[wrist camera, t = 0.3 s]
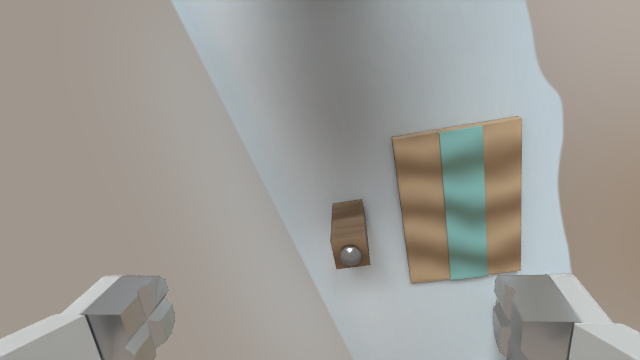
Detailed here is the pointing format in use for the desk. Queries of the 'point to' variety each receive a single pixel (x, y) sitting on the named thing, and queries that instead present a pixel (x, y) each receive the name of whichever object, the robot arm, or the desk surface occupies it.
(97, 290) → the robot arm
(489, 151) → the tan flat board
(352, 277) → the desk surface
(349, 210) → the walnut post
